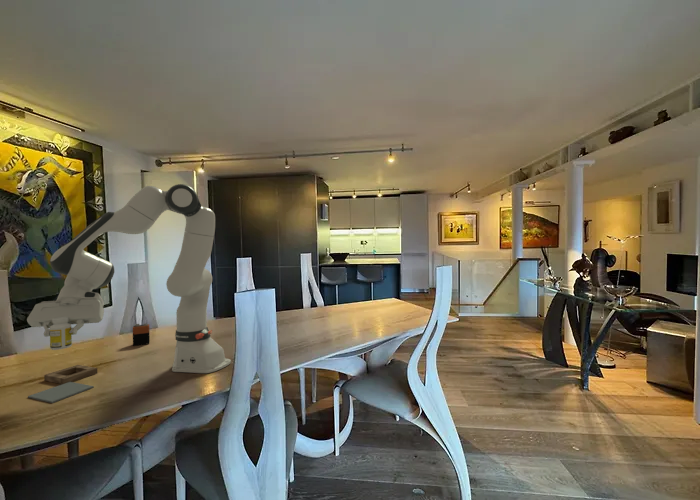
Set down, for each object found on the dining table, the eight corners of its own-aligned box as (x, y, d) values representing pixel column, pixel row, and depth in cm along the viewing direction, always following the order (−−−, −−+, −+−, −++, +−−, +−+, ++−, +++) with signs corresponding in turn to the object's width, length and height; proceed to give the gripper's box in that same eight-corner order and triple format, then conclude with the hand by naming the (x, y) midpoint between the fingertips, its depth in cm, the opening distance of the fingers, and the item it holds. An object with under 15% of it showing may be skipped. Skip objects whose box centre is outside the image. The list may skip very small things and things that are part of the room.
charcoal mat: (93, 387, 114) (93, 386, 114) (52, 403, 103) (52, 401, 103) (70, 383, 119) (70, 381, 119) (27, 397, 107) (27, 396, 107)
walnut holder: (97, 373, 128) (97, 367, 128) (64, 384, 117) (64, 378, 117) (78, 369, 131) (78, 364, 131) (44, 380, 121) (44, 375, 121)
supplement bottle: (69, 344, 115) (69, 315, 114) (73, 347, 111) (73, 317, 111) (48, 348, 110) (48, 318, 110) (51, 351, 107) (51, 320, 107)
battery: (133, 344, 166) (133, 323, 166) (149, 342, 169) (149, 322, 169) (132, 346, 162) (132, 325, 162) (149, 344, 166) (148, 323, 165)
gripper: (32, 296, 114) (15, 332, 105) (104, 293, 120) (93, 326, 111) (40, 307, 118) (24, 342, 109) (109, 303, 125) (99, 336, 115)
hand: (59, 334), depth 110 cm, fingers closed on supplement bottle, 5 cm apart
